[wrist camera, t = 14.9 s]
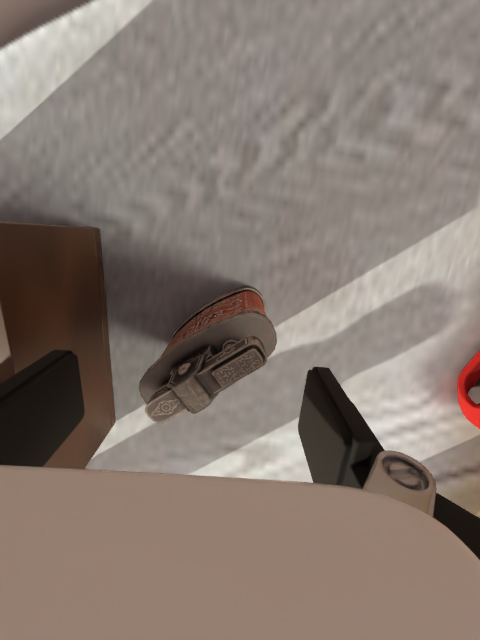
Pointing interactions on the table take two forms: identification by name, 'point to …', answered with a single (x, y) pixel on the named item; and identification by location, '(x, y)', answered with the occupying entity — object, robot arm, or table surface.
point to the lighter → (209, 354)
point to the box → (58, 319)
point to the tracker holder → (466, 380)
